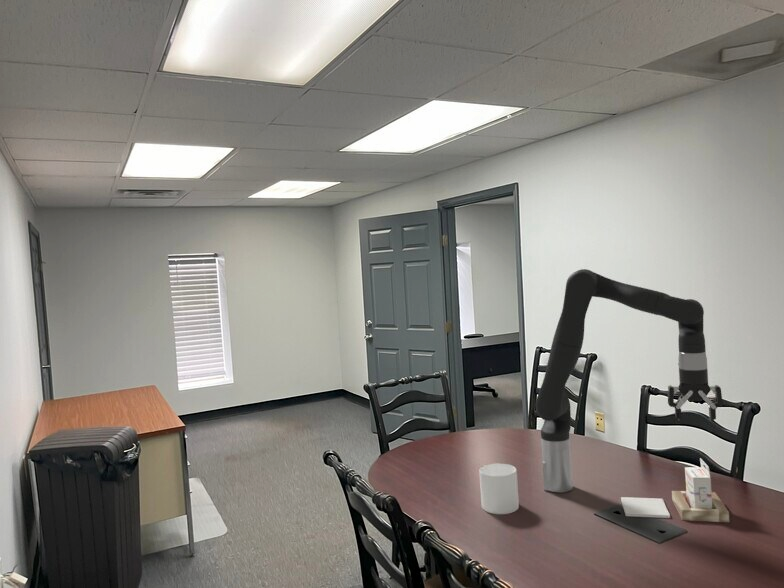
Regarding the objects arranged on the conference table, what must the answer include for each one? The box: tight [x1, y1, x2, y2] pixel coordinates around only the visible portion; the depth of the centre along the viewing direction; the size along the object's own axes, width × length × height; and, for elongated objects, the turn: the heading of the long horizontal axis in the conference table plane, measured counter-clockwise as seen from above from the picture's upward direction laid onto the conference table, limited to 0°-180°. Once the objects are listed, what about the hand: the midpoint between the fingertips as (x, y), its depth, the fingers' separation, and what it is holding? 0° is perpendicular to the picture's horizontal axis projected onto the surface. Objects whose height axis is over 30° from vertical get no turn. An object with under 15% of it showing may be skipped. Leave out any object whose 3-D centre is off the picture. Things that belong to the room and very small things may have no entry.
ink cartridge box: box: [684, 457, 712, 509], centre depth 167 cm, size 9×5×15 cm, turn 168°
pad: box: [620, 496, 671, 519], centre depth 171 cm, size 12×12×1 cm
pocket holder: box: [671, 490, 730, 523], centre depth 167 cm, size 12×14×3 cm
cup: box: [478, 462, 520, 515], centre depth 180 cm, size 12×12×12 cm
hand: (695, 420), depth 168 cm, fingers open, 8 cm apart
